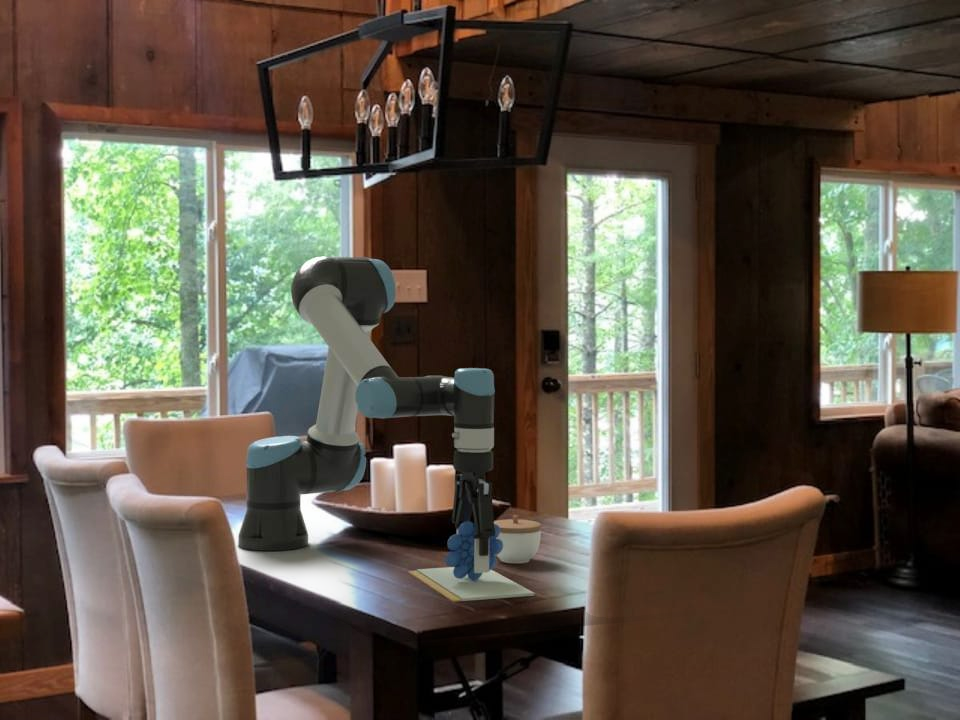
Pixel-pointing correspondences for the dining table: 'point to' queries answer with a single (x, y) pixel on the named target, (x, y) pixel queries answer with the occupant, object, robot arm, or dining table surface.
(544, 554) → the dining table surface
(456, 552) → the grapes
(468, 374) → the robot arm
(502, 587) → the mat
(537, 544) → the lidded jar
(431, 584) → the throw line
